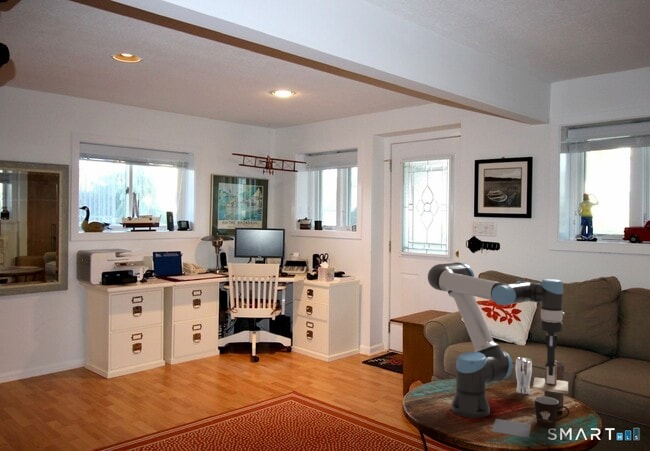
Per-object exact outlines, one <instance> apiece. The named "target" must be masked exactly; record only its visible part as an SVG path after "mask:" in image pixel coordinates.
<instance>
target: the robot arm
mask: <svg viewBox="0 0 650 451" xmlns="http://www.w3.org/2000/svg"><path fill="white" fill-rule="evenodd" d="M427 281H428V284H429V285H430V287H432V288H433V289H435V290H437V291H443V292H447V293H448V296H449V297H452V298H453V299H454V302H455V305H456V306H457V308H458V311H459V314H460V316H461V318H462V321H463V323H464V325H465V328H466V331H467V333H468V336H469V337H470V338H469V339H470V342H471V343H472V346H473V348H474V350H473V351H471V352H470V351H467V352H463V353H461V354H459V355H458V356H457V358H456V364H455V369H456V370H455V372H456V373H455V377H456V378H455V379H456V380H455V383H456V386H455V387H456V388H455V394H454V397H453V399H452V403H451V412H452V413H454V414H455V415H457V416H460V417H465V418H470V419H471V418H472V419H474V418H475V419H479V418H480V419H481V418H485V417H487V416H490V413H491V410H490V409H491V408H490V405H489V400H488V398H487V395H486V391H487V390H486V388H487V387H486V386H487V384H490V383H494V382H499V381H502V380H504V379H506V378H508V377H509V376H510V375H511V373H512V371H513V359H512V358H511V356H510V354H509V353H508V352H506V351H504V350H502V348H501V347H500V344H498V343H497V342H495V341H494V338H493V337H492V334H491V332H490V329H489V328H488V325H487V322H486V321H485V317H484V316H483V313H482V311H481V309H480V307H479V304H478V302H477V299H476V297H477V298H480V299H481V298H482V299H486V300H489V301H493V302H494V303H496V305H499V306H508V305H513V304H514V305H515V304H519V303H526V302H530V303H531V302H532V303H537V304H540V306H541V307H540V319H541V320H540V329H541V331H542V332H546V333H547V334H545V346H546V348H547V349H546V351H547V352H546V353H547V355H546V356H547V357H546V362H547V364H544V367H545V366H547V383H550V384H555V364H554V362H555V363H557V362H558V361H557V360H556V349H557V341H558V335H557V334H556V333H562V332H563V327H564V326H563V324H564V323H563V322H562V321H563V316H565V312H563V311H564V310H563V306H564V305H563V301H564V286H563V285H564V284H563V283H564V282H563V281H562V280H560V279H557V278H556V279H553V278H543V279H542V280H541V283H539V282H534V281H533V282H531V281H527V280H517V281H516V282H514V283H504V282H499V281H495V280H489V279H485V278H481V277H477V276H476V277H475V274H474V270H473V269H472V267H471V266H470V265H468V264H466V263H464V262H458V261H457V262H451V263H439V264H435V265H433V266H431V268H430V269H429V271H428V273H427Z"/></svg>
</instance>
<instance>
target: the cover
mask: <svg viewBox="0 0 650 451" xmlns="http://www.w3.org/2000/svg"><path fill="white" fill-rule="evenodd" d="M545 364H547V361H545ZM545 364H544V377H543V378H542V377H537V376H536V377H534V379H533V384H532V389H533V390H537V391H544V392H545V391H550V392H558V393H564V394H565V395H567V394H569V381H566V380H564V381H560V380H557V363H555V362H554V364H555V384H550V383H547V366H545Z"/></svg>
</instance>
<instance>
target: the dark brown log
mask: <svg viewBox="0 0 650 451" xmlns="http://www.w3.org/2000/svg"><path fill="white" fill-rule="evenodd" d="M557 380H560V381H565V363H564V362H563V361H562V362H561V361H557ZM564 394H565V393H558V392H550V391H544V396H545V397H551V398H554V399H556V400H558V401H559V404H558V407H560V406H564ZM561 411H564V408H560V409H559V410H558V411H557V412H561Z"/></svg>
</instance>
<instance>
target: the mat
mask: <svg viewBox="0 0 650 451" xmlns="http://www.w3.org/2000/svg"><path fill="white" fill-rule="evenodd" d="M531 427H532V424H531V423H523V422H518V421H511V420H505V419H499V418H495V420H494V422H493V426H492V428H491V433H492V432H493V433H497V434H505V435H509V436H510V435H511V436H515V437H521V438H522V437H523V438H526V439H529V438H530V434H531Z"/></svg>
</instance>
